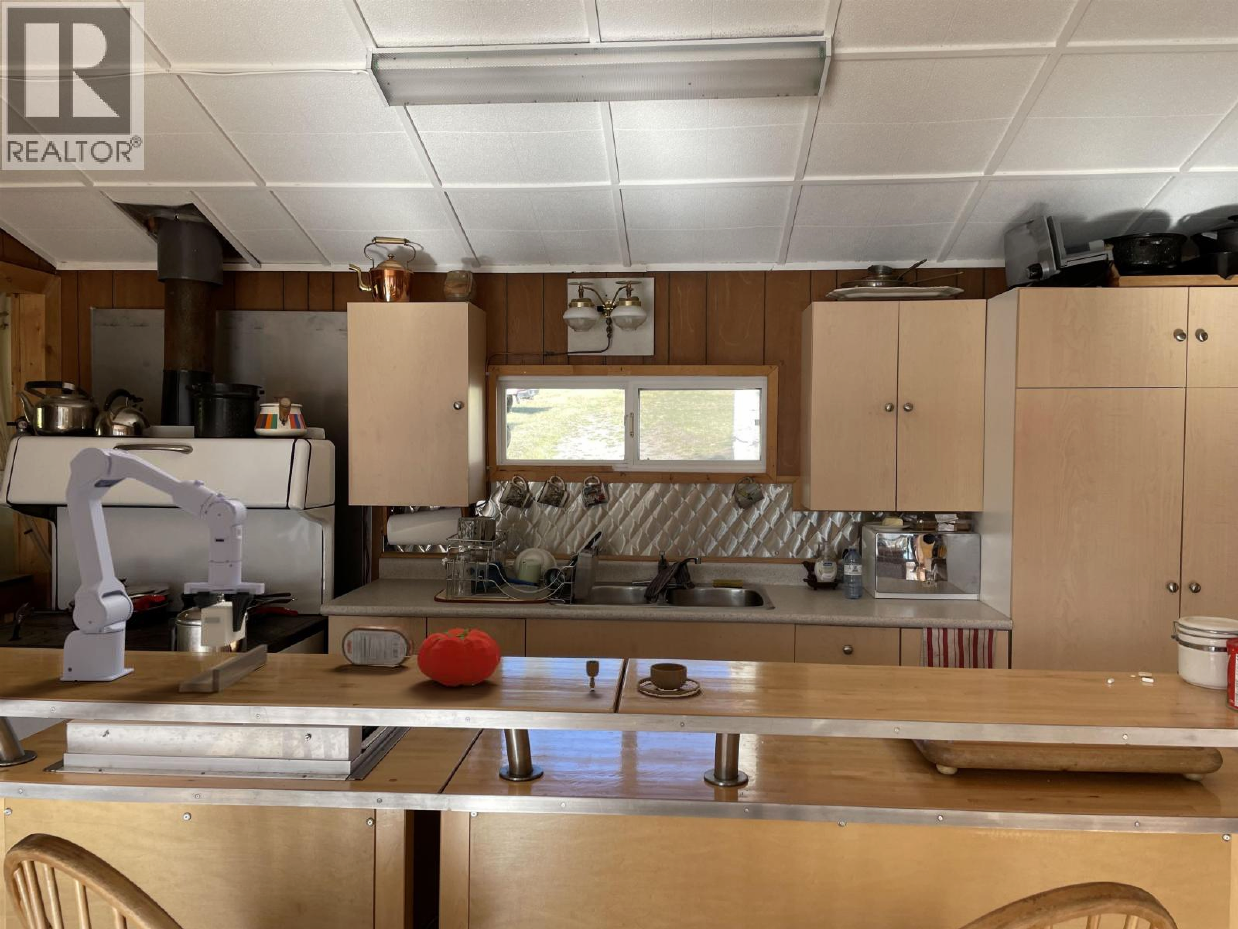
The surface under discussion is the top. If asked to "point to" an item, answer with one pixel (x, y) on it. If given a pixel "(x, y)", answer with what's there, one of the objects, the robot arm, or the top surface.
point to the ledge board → (226, 672)
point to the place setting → (654, 677)
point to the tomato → (458, 657)
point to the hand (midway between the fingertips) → (223, 630)
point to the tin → (377, 645)
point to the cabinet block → (219, 625)
